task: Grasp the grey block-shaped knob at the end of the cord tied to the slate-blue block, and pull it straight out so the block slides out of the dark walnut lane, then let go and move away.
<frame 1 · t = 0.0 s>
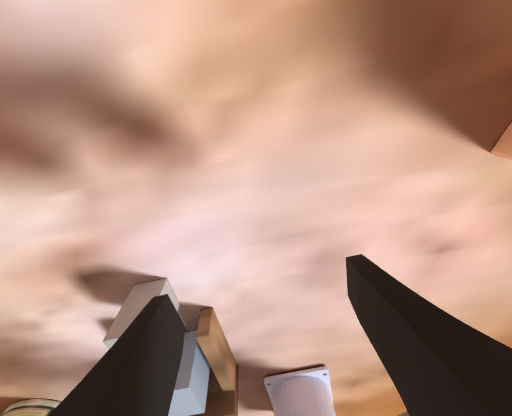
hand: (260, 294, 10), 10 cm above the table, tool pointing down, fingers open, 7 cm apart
walnut lane: (186, 347, 26), on the table
tethered block: (186, 346, 26), on the table
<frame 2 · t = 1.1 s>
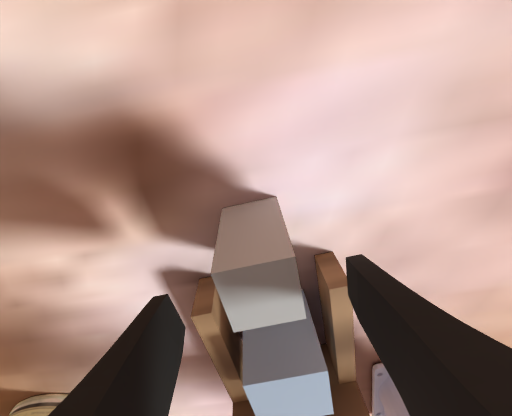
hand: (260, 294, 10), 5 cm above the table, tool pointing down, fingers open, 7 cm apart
walnut lane: (278, 318, 18), on the table
tethered block: (277, 315, 18), on the table
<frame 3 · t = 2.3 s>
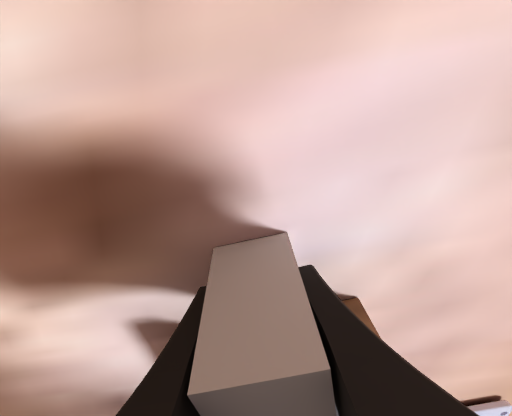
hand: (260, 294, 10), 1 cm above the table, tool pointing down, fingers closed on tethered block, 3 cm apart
walnut lane: (286, 372, 15), on the table
tethered block: (285, 370, 14), on the table, touching gripper
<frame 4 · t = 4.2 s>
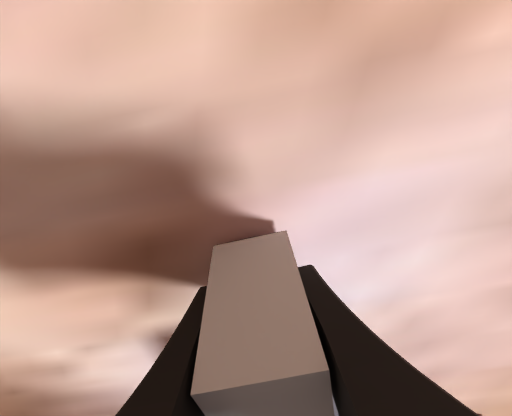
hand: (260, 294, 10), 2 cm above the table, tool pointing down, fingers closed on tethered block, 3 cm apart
tethered block: (284, 361, 15), on the table, touching gripper
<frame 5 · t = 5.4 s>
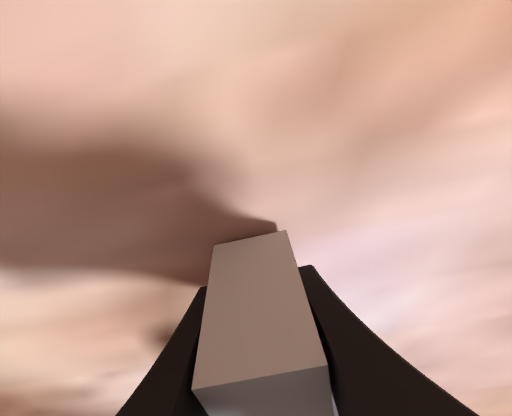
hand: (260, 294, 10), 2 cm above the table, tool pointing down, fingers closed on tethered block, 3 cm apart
tethered block: (284, 361, 15), on the table, touching gripper
when the fingers open (1 cm above the table, at t = 6.2 s): tethered block stays where it is, on the table.
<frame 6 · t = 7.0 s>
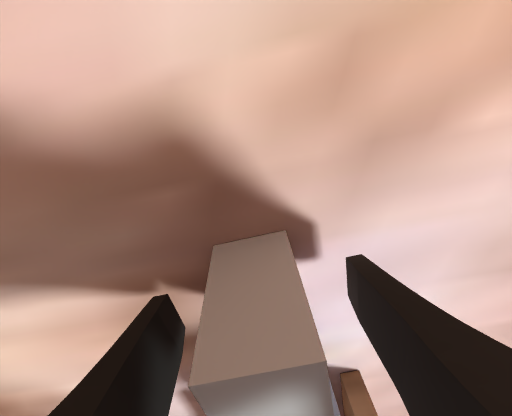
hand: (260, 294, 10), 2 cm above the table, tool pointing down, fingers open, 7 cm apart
tethered block: (284, 366, 15), on the table
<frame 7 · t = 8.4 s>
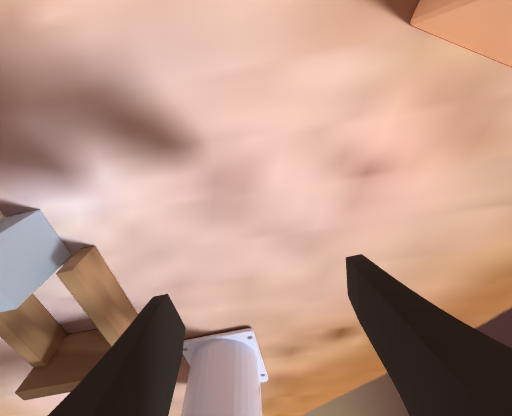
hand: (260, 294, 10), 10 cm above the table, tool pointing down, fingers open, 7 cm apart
walnut lane: (77, 300, 22), on the table
tethered block: (30, 238, 19), on the table
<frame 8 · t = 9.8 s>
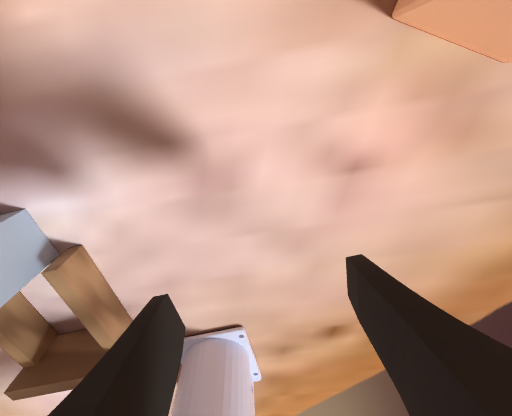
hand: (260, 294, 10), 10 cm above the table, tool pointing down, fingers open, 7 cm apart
walnut lane: (66, 300, 22), on the table
tethered block: (17, 238, 19), on the table
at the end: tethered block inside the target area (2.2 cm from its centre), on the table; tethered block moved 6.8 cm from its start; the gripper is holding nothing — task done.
